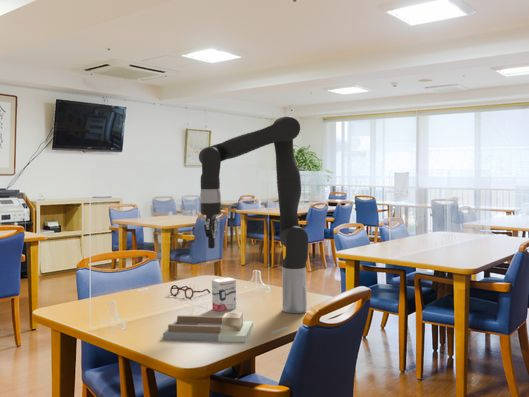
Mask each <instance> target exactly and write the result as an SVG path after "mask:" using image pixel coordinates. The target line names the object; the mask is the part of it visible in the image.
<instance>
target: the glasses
mask: <svg viewBox="0 0 529 397" xmlns="http://www.w3.org/2000/svg"><path fill="white" fill-rule="evenodd" d="M172 290H177V291H176V293H175V294H174V293H173V291H172ZM188 290H190V291H191V295H190V296H187V291H188ZM180 291H184V297H185V298H186V299H192V298H193V296H194V294H195V293H203V292H205V291H207V292H208V293H209V294H210V293H211V294H212V291H210V290H209V289H208V288H205V289H203V290H194V289H193V288H192V287H188V286H187V285H184V286H180V287H179V286H178V285H175V284H172V285H171V287H170V295H174V296H173V297H176V296H178V294H179V292H180Z"/></svg>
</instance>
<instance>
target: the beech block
mask: <svg viewBox="0 0 529 397" xmlns="http://www.w3.org/2000/svg"><path fill="white" fill-rule="evenodd" d="M221 317H222V331H240V330H241V329H242V327H243V321H244V312H225V313H224V314H223V316H221Z"/></svg>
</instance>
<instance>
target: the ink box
mask: <svg viewBox="0 0 529 397" xmlns="http://www.w3.org/2000/svg"><path fill="white" fill-rule="evenodd" d="M211 294H212V295H211V298H212V310H214V311H216V312H221V311H222V312H223V311H227V310H235V309H237V280H236V279H235V278H232V277H222V278H217V279H216V278H215V279H213V280H212V279H211Z"/></svg>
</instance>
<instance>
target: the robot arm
mask: <svg viewBox="0 0 529 397" xmlns="http://www.w3.org/2000/svg"><path fill="white" fill-rule="evenodd" d="M300 131H301V123H300V122H299V120H298V119H297V118H295V117H294V116H289V115H287V116H282V117H278V118H277V119H275V120H274V122H273V124H270V125H268V126H266V127H264V128H262V129H261V128H260V129H258V130H255V131H251V132H247V133H244V134H241V135H238V136H235V137H231V138H229V139H227V140H224V141H223V142H221V143H216V144H213V145H210V146H207V147H204V148H202V149H201V150H200V152H199V154H198V161H199V163H201V175H200V193H199V194H200V195H199V196H200V197H199V199H200V201H199V204H200V207H199V208H200V215H204V216H205V219H204V225H203V226H204V231H205V237H206V238H207V247H208V249H214V248H215V247H216V239H215V238H216V236H217V234H218V233H217V232H218V223H219V222H218V219H217V215H220V214H222V200H221V198H222V196H221V183H220V182H221V181H220V174H221V173H220V172H221V164H222V162H224V161H226V160H230V159H234V158H237V157H240V156H243V155H245V154H249V153H250V152H253V151H255V150H257V149H260V148H262V147H265V146H268V145H271V144H273V146H274V152H275V167H276V169H275V171H276V186H277V198H278V199H277V200H278V206H279V207H278V208H279V241H280V244H281V245H283V247H285V256H284V258H282V264H281V266H282V270H281V271H282V274H281V275H282V280H281V281H282V311H283V312H285V313H288V314H300V313H301V314H302V313H307V305H308V304H307V301H308V300H307V298H308V296H307V291H308V290H307V262H308V257H309V235H308V231H306V230H305V229H304V228H303V227H301V226H300V225H299V218H298V217H299V216H298V208H299V205H300V204H299V203H300V200H301V195H302V181H301V178H302V177H301V172H300V169H299V166H298V163H297V161H296V158H295V151H294V139H296V138H297V137H298V136H299V134H300V133H301V132H300Z"/></svg>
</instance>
